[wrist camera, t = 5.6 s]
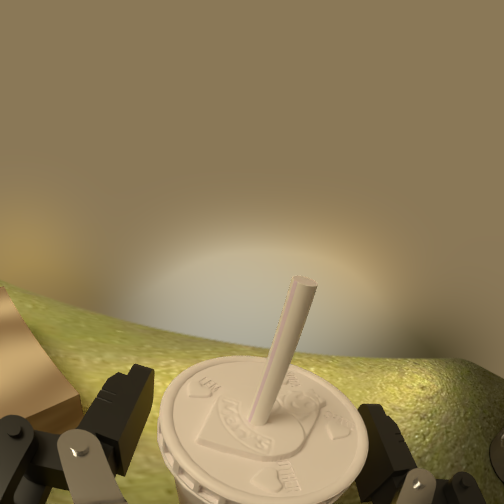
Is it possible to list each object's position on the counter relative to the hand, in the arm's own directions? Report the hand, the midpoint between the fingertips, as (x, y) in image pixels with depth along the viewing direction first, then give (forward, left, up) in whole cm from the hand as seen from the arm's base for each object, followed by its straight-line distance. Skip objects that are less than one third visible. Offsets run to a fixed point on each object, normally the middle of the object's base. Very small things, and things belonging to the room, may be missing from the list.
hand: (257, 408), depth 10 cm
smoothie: (-1, +2, -8) cm, 8 cm away
